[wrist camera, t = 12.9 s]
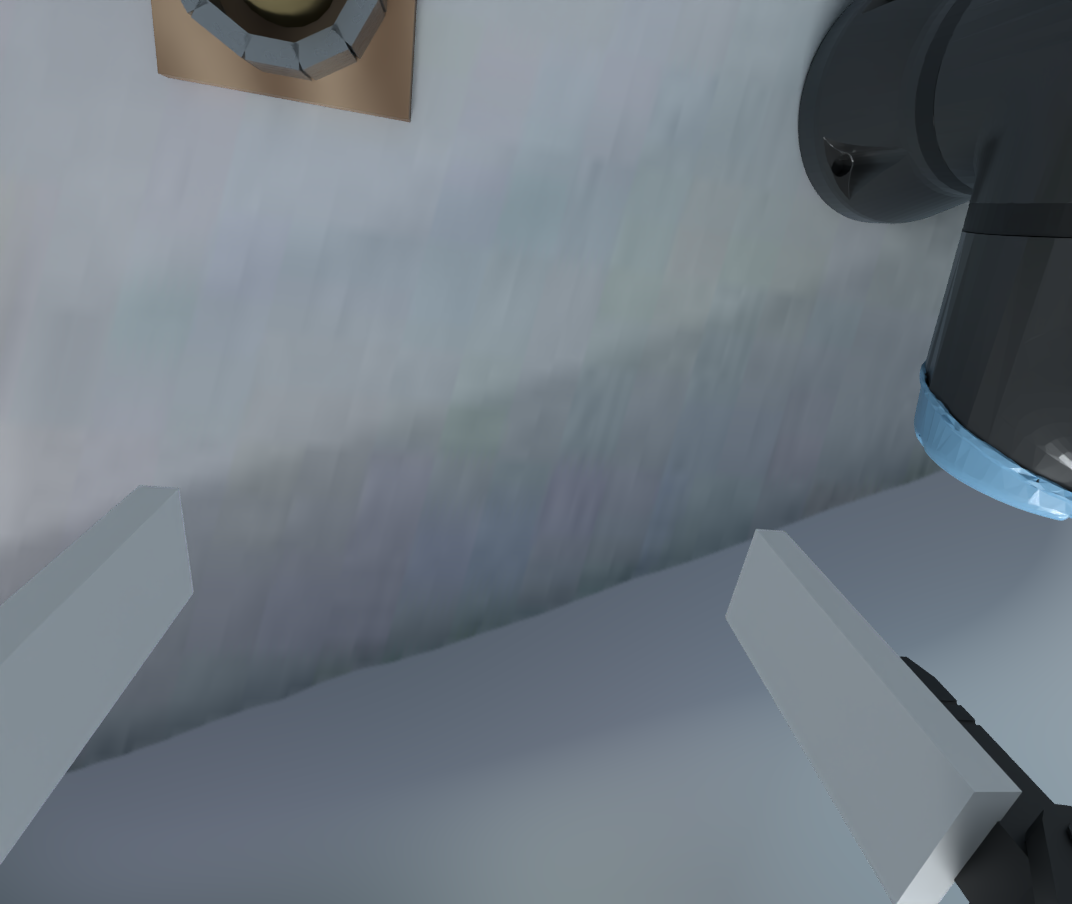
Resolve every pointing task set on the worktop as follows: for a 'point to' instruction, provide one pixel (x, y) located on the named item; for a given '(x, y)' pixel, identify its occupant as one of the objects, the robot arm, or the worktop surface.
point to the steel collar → (305, 55)
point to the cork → (290, 11)
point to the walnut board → (358, 88)
